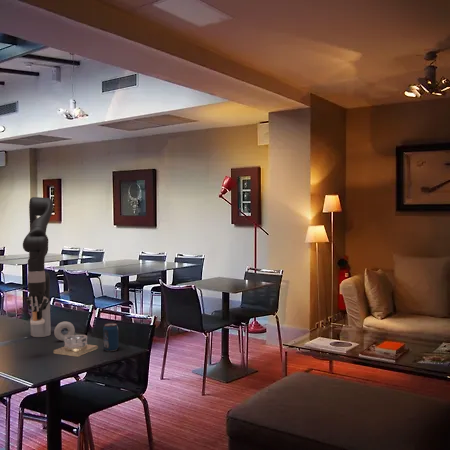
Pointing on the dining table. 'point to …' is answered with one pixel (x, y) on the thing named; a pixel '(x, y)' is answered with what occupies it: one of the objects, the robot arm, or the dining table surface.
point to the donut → (60, 326)
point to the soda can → (110, 337)
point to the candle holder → (75, 346)
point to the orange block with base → (34, 320)
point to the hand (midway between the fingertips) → (37, 319)
